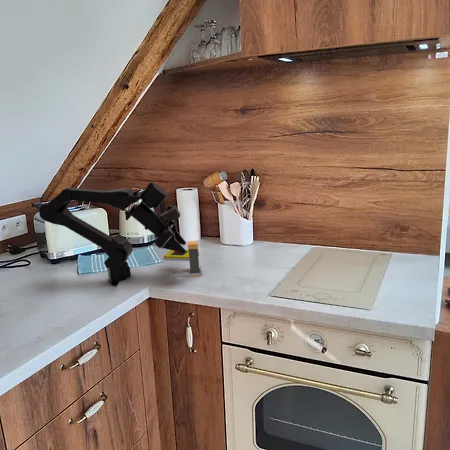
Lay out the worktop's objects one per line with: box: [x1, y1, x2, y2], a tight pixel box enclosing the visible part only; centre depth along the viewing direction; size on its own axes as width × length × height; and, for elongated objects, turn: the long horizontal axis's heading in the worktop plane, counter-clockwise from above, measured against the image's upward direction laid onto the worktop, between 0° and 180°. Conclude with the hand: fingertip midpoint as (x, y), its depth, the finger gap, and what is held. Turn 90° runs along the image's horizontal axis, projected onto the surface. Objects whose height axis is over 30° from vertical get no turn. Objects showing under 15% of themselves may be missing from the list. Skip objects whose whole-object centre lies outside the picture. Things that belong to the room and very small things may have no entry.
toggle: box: [187, 240, 201, 274], centre depth 155 cm, size 3×4×11 cm
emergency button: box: [162, 249, 200, 262], centre depth 175 cm, size 9×4×15 cm
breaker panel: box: [172, 265, 203, 279], centre depth 156 cm, size 10×7×3 cm, turn 94°
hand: (185, 247), depth 153 cm, fingers open, 9 cm apart
